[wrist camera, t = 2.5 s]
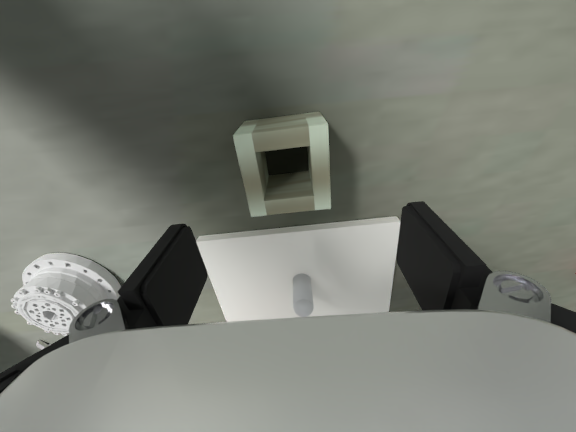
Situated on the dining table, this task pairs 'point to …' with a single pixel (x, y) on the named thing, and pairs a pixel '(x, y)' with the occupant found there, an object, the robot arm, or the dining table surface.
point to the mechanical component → (61, 290)
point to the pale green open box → (290, 186)
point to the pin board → (303, 269)
